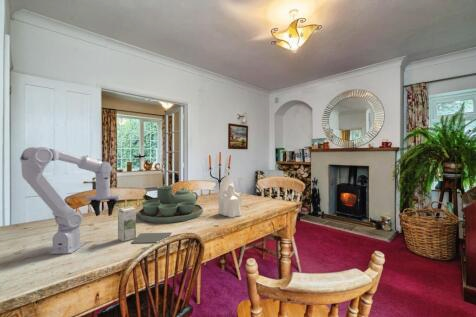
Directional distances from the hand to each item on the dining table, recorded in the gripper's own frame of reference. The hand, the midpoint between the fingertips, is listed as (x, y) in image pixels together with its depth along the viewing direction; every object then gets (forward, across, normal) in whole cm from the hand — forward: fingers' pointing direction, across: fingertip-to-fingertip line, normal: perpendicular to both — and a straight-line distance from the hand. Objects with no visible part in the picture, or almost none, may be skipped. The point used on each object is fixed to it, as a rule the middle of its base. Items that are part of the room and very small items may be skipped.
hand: (104, 215), depth 110 cm
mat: (+11, -23, +4) cm, 26 cm away
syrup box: (+11, -12, +4) cm, 16 cm away
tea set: (+12, -24, -38) cm, 47 cm away
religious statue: (+12, -64, -36) cm, 74 cm away
